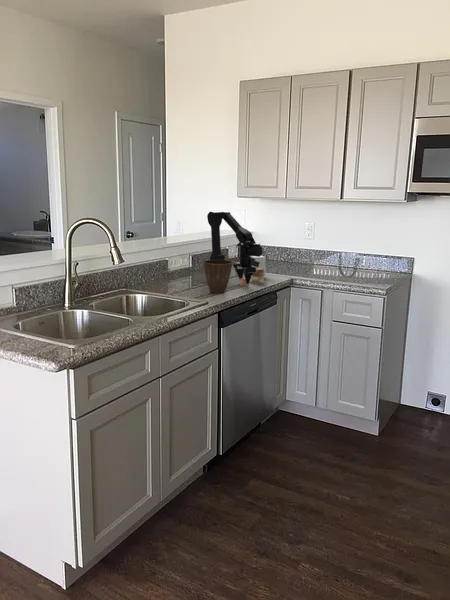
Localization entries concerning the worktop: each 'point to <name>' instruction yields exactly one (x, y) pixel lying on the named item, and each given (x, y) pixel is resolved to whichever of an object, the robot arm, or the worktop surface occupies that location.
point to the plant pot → (217, 274)
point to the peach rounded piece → (243, 282)
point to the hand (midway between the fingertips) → (244, 282)
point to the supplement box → (262, 262)
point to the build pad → (257, 284)
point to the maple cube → (258, 279)
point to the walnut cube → (259, 272)
